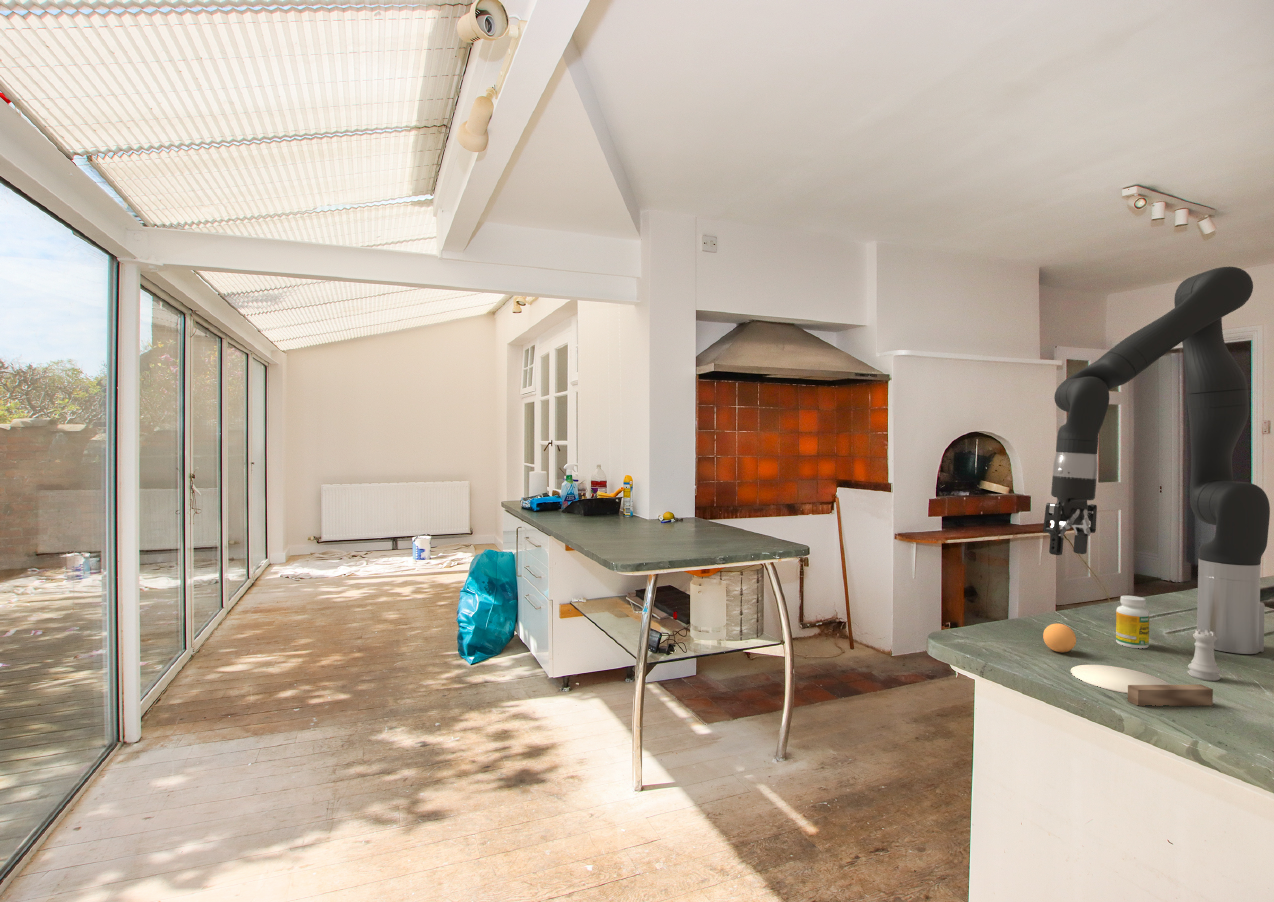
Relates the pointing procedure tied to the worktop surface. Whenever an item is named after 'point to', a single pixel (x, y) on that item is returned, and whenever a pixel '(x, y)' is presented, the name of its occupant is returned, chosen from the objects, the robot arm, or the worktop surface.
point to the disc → (1113, 677)
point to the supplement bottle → (1132, 622)
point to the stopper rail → (1170, 695)
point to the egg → (1059, 637)
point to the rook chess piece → (1204, 657)
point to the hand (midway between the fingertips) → (1067, 554)
